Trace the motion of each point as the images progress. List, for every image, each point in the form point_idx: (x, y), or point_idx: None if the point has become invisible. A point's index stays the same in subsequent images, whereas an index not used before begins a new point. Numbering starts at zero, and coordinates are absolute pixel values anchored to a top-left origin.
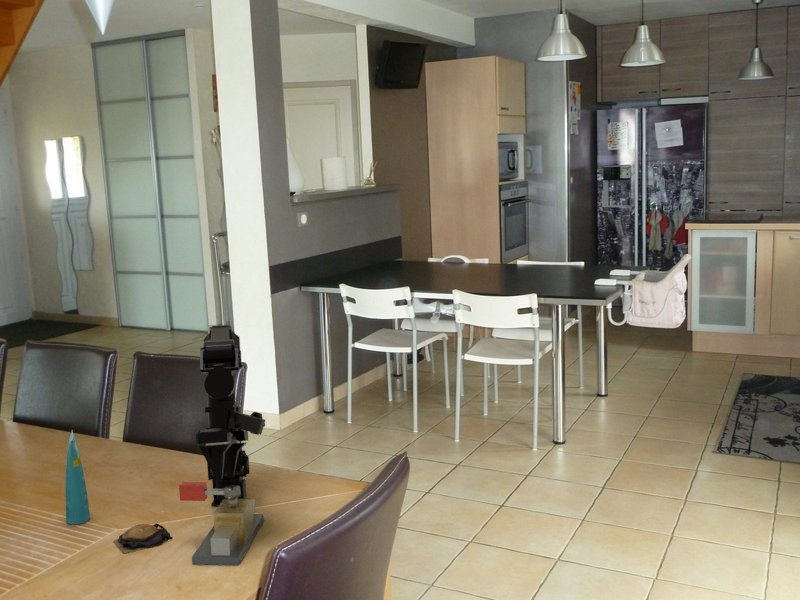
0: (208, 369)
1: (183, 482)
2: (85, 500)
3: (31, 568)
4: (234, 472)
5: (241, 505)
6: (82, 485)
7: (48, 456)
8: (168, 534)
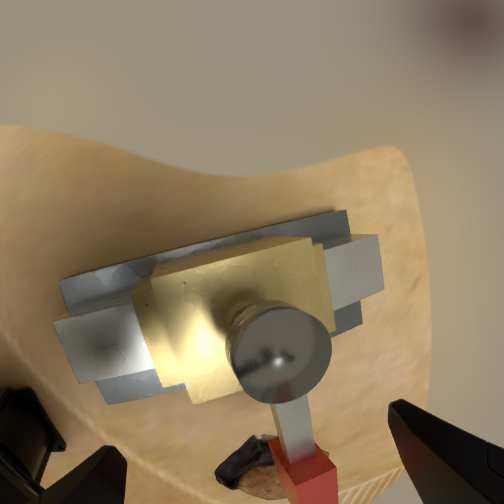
0: None
1: None
2: None
3: (372, 489)
4: (91, 458)
5: (233, 292)
6: None
7: None
8: (238, 453)
